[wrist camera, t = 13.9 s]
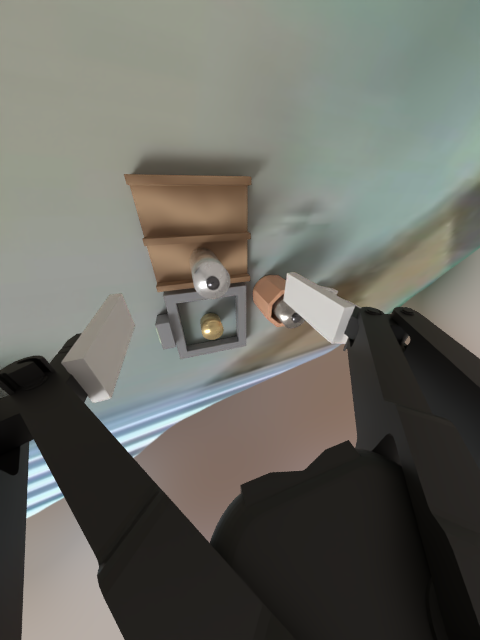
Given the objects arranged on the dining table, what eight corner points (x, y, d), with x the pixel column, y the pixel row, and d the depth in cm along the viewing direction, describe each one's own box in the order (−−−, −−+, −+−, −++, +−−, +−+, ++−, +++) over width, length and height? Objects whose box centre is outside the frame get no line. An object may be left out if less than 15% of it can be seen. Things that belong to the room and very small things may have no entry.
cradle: (149, 293, 28) (146, 301, 25) (243, 281, 31) (248, 288, 28) (168, 355, 34) (167, 366, 32) (243, 340, 38) (248, 349, 35)
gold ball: (199, 314, 31) (200, 324, 28) (219, 311, 32) (222, 320, 29) (201, 331, 33) (203, 341, 30) (220, 328, 34) (224, 337, 31)
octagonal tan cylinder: (252, 276, 31) (269, 292, 25) (286, 273, 32) (308, 286, 27) (252, 309, 34) (266, 329, 29) (282, 304, 36) (301, 322, 30)
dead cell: (260, 283, 31) (286, 308, 24) (280, 281, 32) (312, 304, 25) (259, 303, 34) (283, 332, 26) (278, 300, 34) (307, 327, 27)
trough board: (129, 177, 20) (123, 174, 18) (245, 179, 23) (251, 176, 22) (159, 286, 27) (157, 292, 26) (245, 276, 31) (250, 281, 29)
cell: (187, 249, 25) (190, 267, 17) (215, 246, 26) (230, 262, 18) (192, 276, 27) (197, 303, 19) (218, 273, 28) (232, 298, 20)
